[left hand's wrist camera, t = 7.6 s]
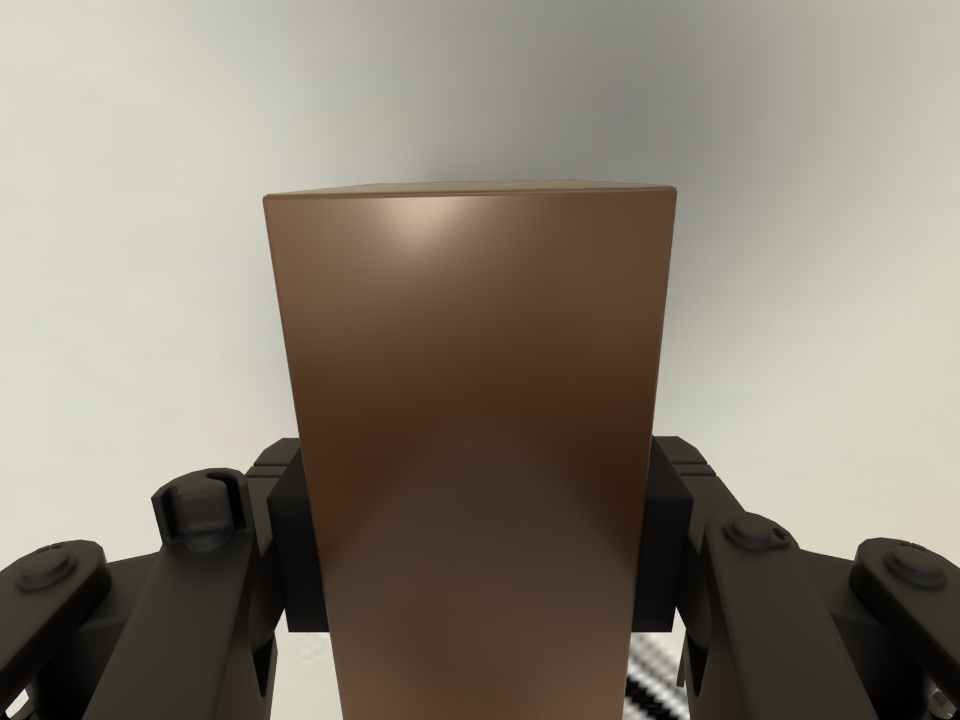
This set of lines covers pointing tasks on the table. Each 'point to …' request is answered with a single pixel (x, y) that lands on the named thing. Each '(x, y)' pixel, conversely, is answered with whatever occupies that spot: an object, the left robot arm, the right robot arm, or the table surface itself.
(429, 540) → the bar
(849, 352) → the table surface
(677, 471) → the left robot arm
